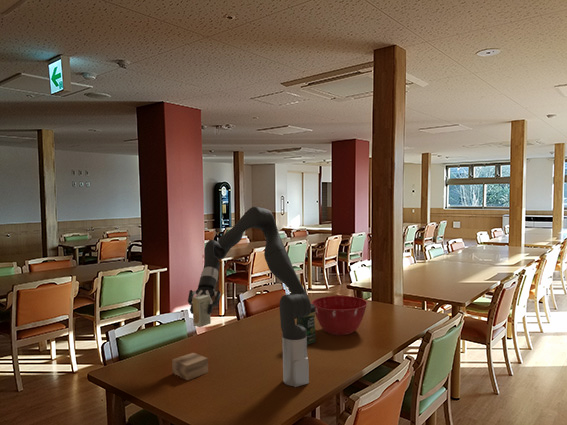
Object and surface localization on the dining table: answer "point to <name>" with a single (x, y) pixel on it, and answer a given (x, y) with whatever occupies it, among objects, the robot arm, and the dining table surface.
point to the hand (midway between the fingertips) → (200, 313)
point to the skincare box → (201, 310)
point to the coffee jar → (309, 325)
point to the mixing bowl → (339, 313)
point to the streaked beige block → (190, 366)
